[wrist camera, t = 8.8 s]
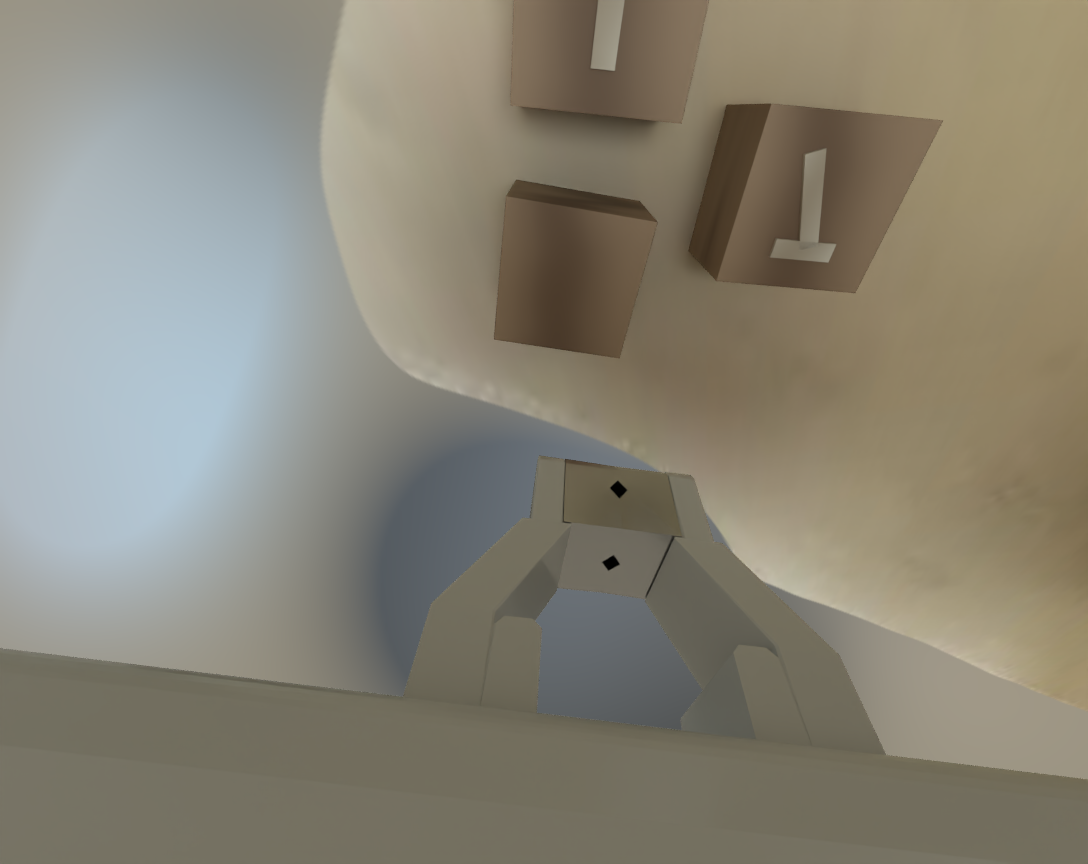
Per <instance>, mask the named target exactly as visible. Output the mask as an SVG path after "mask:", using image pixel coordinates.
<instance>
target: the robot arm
mask: <svg viewBox="0 0 1088 864" xmlns="http://www.w3.org/2000/svg"><path fill="white" fill-rule="evenodd" d="M557 588H563V589H573V590H583V591H593V592H602V593H608V594H615V595H622V596H629V597H635V598H641V599H646V600H645V602H646V603H647V605H648V607H649V608H650V610H651V611H652V613H653V614H654V616H655V617H656V619H657V620H658V622H659V624H660V625H661V627H662V628H663V630H664V631H665V633H666V634H667V636H668V638H669V639H670V640H671V642H672V644H673V645H674V647H675V648H676V650H677V651H678V653H679V654H680V656H681V658H682V659H683V661H684V662H685V664H686V665H687V667H688V668H689V670H690V671H691V673H692V674H693V676H694V678H695V679H696V681H697V682H698V684H699V685H700V687H701V688H702V690H703V691H702V692H701V693H700V695H699V696H698V697H697V699H696V700H695V701H694V702H693V704H692V705H691V706H690V708H689V709H688V710H687V711H686V713H685V714H684V715H683V717H682V718H681V726H682V730H675V729H667V728H659V727H650V726H642V725H634V724H625V723H617V722H609V721H601V720H592V719H584V718H576V717H567V716H559V715H551V714H542V713H537V698H538V682H539V666H540V650H541V633H542V628H541V627H540V626H539V625H538V624H537V623H536V622H535V620H536V619H537V617H538V616H539V615H540V613H541V612H542V610H543V609H544V608H545V606H546V605H547V603H548V602H549V600H550V599H551V598H552V596H553V595H554V594H555V592H556V591H557ZM0 864H1088V779H1081V778H1072V777H1064V776H1056V775H1047V774H1038V773H1030V772H1022V771H1014V770H1005V769H997V768H989V767H981V766H972V765H964V764H956V763H948V762H940V761H931V760H923V759H914V758H907V757H898V756H890V755H886V754H885V751H884V749H883V747H882V745H881V743H880V741H879V739H878V736H877V734H876V732H875V730H874V728H873V726H872V724H871V722H870V720H869V717H868V715H867V713H866V711H865V709H864V707H863V704H862V702H861V700H860V698H859V696H858V694H857V692H856V690H855V687H854V685H853V683H852V681H851V679H850V677H849V675H848V673H847V670H846V668H845V666H844V664H843V662H842V660H841V658H840V656H839V654H838V653H836V652H835V651H834V650H833V649H832V648H831V647H830V646H829V645H828V644H827V643H826V642H825V641H824V640H823V639H822V638H821V637H820V636H819V635H818V634H817V633H816V632H814V630H813V629H811V628H810V627H809V626H808V625H807V624H806V623H805V622H804V621H803V620H802V619H801V618H800V617H799V616H798V615H797V614H796V613H795V612H793V610H792V609H791V608H789V607H788V606H787V605H786V604H785V603H784V602H783V601H782V600H781V599H780V598H779V597H778V596H777V595H776V594H775V593H774V592H773V591H772V590H771V589H770V588H769V587H768V586H766V585H765V584H764V583H763V582H762V581H761V580H760V579H759V578H758V577H757V576H756V575H755V574H754V573H753V572H752V571H751V570H750V569H749V568H748V567H747V566H746V565H745V564H744V563H742V562H741V561H740V560H739V559H738V558H737V557H736V556H735V555H734V554H733V553H732V552H731V551H730V550H729V549H728V548H727V547H726V546H725V545H723V544H722V543H718V542H714V540H713V537H712V534H711V531H710V528H709V524H708V521H707V518H706V515H705V512H704V509H703V505H702V502H701V499H700V496H699V493H698V489H697V486H696V483H695V480H694V478H693V477H692V476H691V475H685V474H676V473H667V472H665V473H662V472H654V471H646V470H638V469H630V468H621V467H614V466H607V465H601V464H595V463H588V462H582V461H575V460H568V459H565V461H564V459H559V458H552V457H546V456H539V458H538V462H537V469H536V476H535V483H534V490H533V497H532V504H531V511H530V518H522V519H521V520H520V521H519V522H518V523H517V524H515V525H514V526H513V527H512V528H511V529H510V530H509V531H508V532H507V533H506V534H505V535H504V536H503V537H502V538H501V539H499V541H497V542H496V543H495V544H494V545H493V546H492V547H491V548H490V549H489V550H488V551H487V552H486V553H485V554H483V555H482V557H480V558H479V559H478V560H477V561H476V562H475V563H474V564H473V565H472V566H471V567H470V568H469V569H468V570H466V572H464V573H463V574H462V575H461V576H460V577H459V578H458V579H457V580H456V581H455V582H454V583H453V584H451V586H449V587H448V588H447V589H446V590H445V591H444V592H443V593H442V594H441V595H440V596H439V597H438V598H437V599H436V600H434V602H432V603H431V606H430V609H429V613H428V616H427V619H426V623H425V626H424V629H423V632H422V636H421V639H420V643H419V646H418V649H417V652H416V655H415V659H414V662H413V666H412V669H411V672H410V675H409V678H408V682H407V685H406V688H405V692H404V695H403V697H401V696H392V695H385V694H377V693H368V692H360V691H351V690H342V689H335V688H327V687H318V686H310V685H301V684H293V683H284V682H277V681H268V680H260V679H252V678H244V677H235V676H227V675H219V674H210V673H202V672H194V671H184V670H176V669H169V668H160V667H152V666H143V665H135V664H127V663H119V662H110V661H102V660H93V659H86V658H77V657H68V656H61V655H52V654H44V653H36V652H27V651H18V650H11V649H2V648H0Z"/></svg>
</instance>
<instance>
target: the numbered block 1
mask: <svg viewBox="0 0 1088 864" xmlns="http://www.w3.org/2000/svg"><path fill="white" fill-rule="evenodd" d="M708 4H709V0H514V9H513V41H512V73H511V106H521V107H530V108H540V109H549V110H559V111H568V112H577V113H587V114H596V115H606V116H615V117H624V118H634V119H643V120H653V121H662V122H671V123H681V124H682V120H683V115H684V111H685V106H686V102H687V97H688V93H689V88H690V84H691V80H692V75H693V71H694V66H695V62H696V57H697V53H698V48H699V44H700V39H701V35H702V31H703V26H704V22H705V17H706V13H707V8H708Z"/></svg>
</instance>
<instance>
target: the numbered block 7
mask: <svg viewBox="0 0 1088 864" xmlns="http://www.w3.org/2000/svg"><path fill="white" fill-rule="evenodd" d="M942 122H943V120H933V119H923V118H913V117H903V116H892V115H882V114H872V113H862V112H851V111H841V110H831V109H821V108H810V107H800V106H790V105H780V104H739V105H727V107H726V110H725V114H724V118H723V122H722V126H721V129H720V133H719V137H718V141H717V145H716V148H715V152H714V156H713V160H712V164H711V167H710V171H709V175H708V179H707V183H706V186H705V190H704V194H703V198H702V202H701V205H700V209H699V213H698V217H697V221H696V224H695V228H694V232H693V236H692V240H691V243H690V247H689V252H690V253H691V254H692V255H693V256H694V257H695V258H696V259H697V260H698V262H699V263H700V264H701V265H702V266H703V267H704V268H705V269H706V270H707V271H708V272H709V273H710V275H711V276H712V277H713V278H714V279H715V280H716V281H722V282H734V283H745V284H757V285H768V286H780V287H791V288H803V289H814V290H826V291H837V292H848V293H856V291H857V289H858V287H859V285H860V283H861V281H862V279H863V277H864V275H865V273H866V271H867V269H868V267H869V265H870V263H871V261H872V259H873V257H874V255H875V253H876V251H877V249H878V247H879V246H880V244H881V242H882V240H883V238H884V236H885V234H886V232H887V230H888V228H889V226H890V224H891V222H892V220H893V218H894V216H895V214H896V212H897V210H898V208H899V206H900V204H901V202H902V200H903V198H904V196H905V194H906V193H907V191H908V189H909V187H910V185H911V183H912V181H913V179H914V177H915V175H916V173H917V171H918V169H919V167H920V165H921V163H922V161H923V159H924V157H925V155H926V153H927V151H928V149H929V147H930V145H931V143H932V141H933V139H934V138H935V136H936V134H937V132H938V130H939V128H940V126H941V124H942Z"/></svg>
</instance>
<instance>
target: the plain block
mask: <svg viewBox="0 0 1088 864" xmlns="http://www.w3.org/2000/svg"><path fill="white" fill-rule="evenodd" d="M657 223H658V222H657V221H656V220H655V219H654V217H653V216H652V215H651V214H650V213H649V212H648V210H647V209H646V208H645V207H644V206H643V205H642V203H641V202H640V201H635V200H630V199H624V198H618V197H612V196H607V195H601V194H595V193H589V192H584V191H578V190H572V189H566V188H561V187H555V186H549V185H543V184H538V183H532V182H526V181H520V180H516V181H515V183H514V185H513V186H512V188H511V189H510V191H509V192H508V194H507V196H506V203H505V215H504V227H503V238H502V250H501V262H500V273H499V285H498V297H497V308H496V320H495V332H494V339H495V340H501V341H508V342H515V343H521V344H528V345H534V346H541V347H548V348H554V349H561V350H568V351H574V352H581V353H588V354H594V355H601V356H608V357H614V358H620V355H621V351H622V348H623V344H624V341H625V337H626V333H627V330H628V326H629V323H630V319H631V316H632V312H633V309H634V305H635V301H636V298H637V294H638V291H639V287H640V284H641V280H642V276H643V273H644V269H645V266H646V262H647V259H648V255H649V251H650V248H651V244H652V241H653V237H654V234H655V230H656V227H657Z"/></svg>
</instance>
